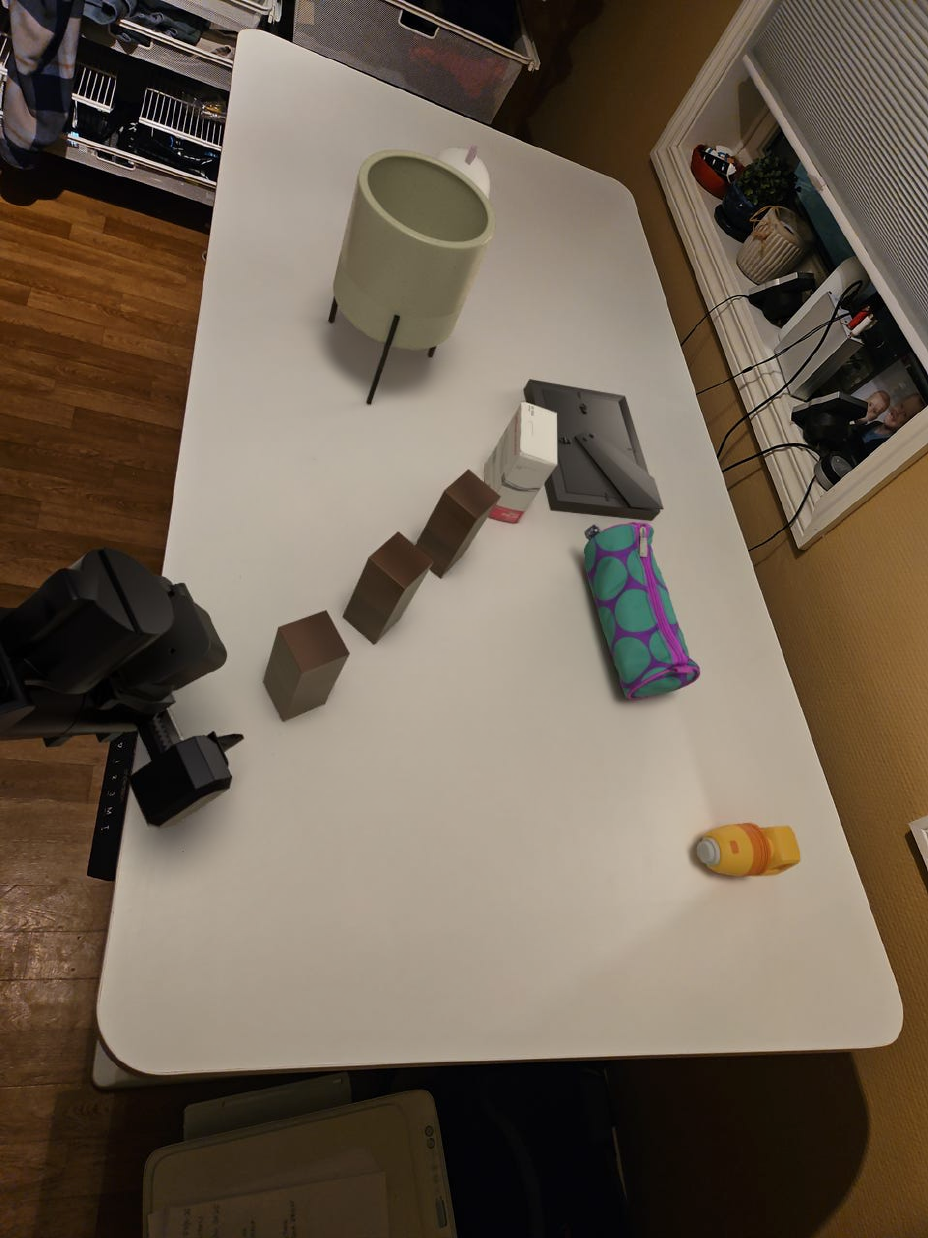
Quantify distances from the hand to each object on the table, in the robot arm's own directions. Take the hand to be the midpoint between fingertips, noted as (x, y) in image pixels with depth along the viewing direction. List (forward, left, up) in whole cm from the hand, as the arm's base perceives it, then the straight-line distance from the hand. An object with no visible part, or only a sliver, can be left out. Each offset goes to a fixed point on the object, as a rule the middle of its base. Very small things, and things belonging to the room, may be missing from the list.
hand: (215, 690), depth 58 cm
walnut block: (+20, +3, -9) cm, 22 cm away
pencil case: (+47, -11, -9) cm, 49 cm away
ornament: (+68, +59, -9) cm, 91 cm away
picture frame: (+61, +12, -9) cm, 63 cm away
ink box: (+44, +11, -9) cm, 47 cm away
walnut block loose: (+8, -1, -9) cm, 12 cm away
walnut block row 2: (+31, +7, -9) cm, 33 cm away
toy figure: (+41, -39, -9) cm, 57 cm away
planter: (+40, +35, -9) cm, 55 cm away
